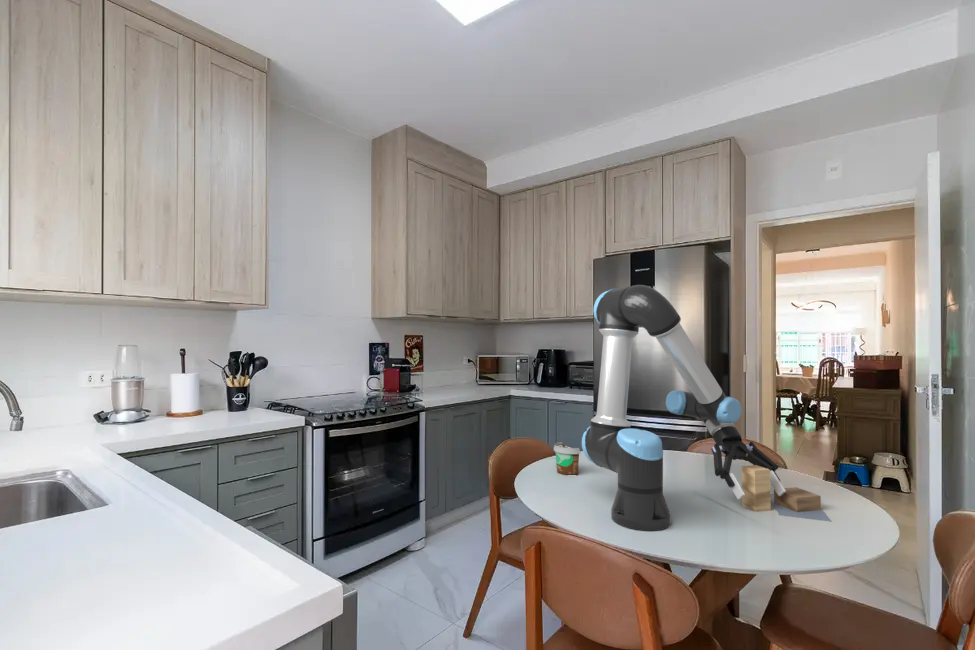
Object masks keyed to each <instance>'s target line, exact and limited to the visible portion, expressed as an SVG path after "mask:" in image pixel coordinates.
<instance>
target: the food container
mask: <svg viewBox="0 0 975 650" xmlns="http://www.w3.org/2000/svg"><path fill="white" fill-rule="evenodd" d="M553 451H554V452H555V453H554V454H555V464H556V472H557V474H559V475H562V476H568V475H576V476H578V475H579V460H580V454H581V450H580V447H572V446H570V445H564V444H563V442H562V441H560V442H559V441H558V442H556V443H554V446H553Z"/></svg>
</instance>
